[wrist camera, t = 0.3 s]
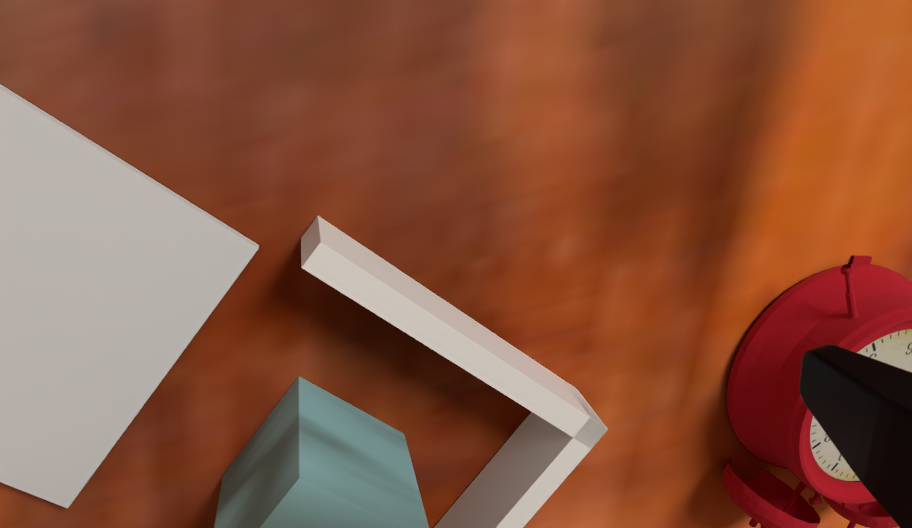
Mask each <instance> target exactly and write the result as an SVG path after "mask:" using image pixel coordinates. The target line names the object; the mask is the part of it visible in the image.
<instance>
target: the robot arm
mask: <svg viewBox="0 0 912 528" xmlns="http://www.w3.org/2000/svg"><path fill="white" fill-rule="evenodd" d="M799 390H800V395H801V398H802V400H803V402H804V403H805V405H806V406H807V407H808V409H809V410H810V412H811V413H812V415H813V416H814V417H815V419H816V420H817V422H818V423H819V424H820V426H821V427H822V429H823V430H824V431H825V433H826V434H827V436H828V437H829V438H830V440H831V441H832V443H833V444H834V445H835V447H836V448H837V450H838V451H839V452H840V454H841V455H842V457H843V458H844V459H845V461H846V462H847V464H848V465H849V466H850V468H851V469H852V471H853V472H854V473H855V475H856V476H857V477H858V479H859V480H860V481H861V482H862V484H863V485H864V486H865V487H866V489H867V490H868V491H869V492H870V493H871V495H872V496H873V497H874V498H875V499H876V500H877V502H878V503H879V504H880V505H881V506H882V507H883V508H884V510H885V511H886V512H887V513H888V514H889V515H890V516H891V518H892V519H893V520H894V521H895V522H896V523H897V524H898V526H899V527H900V528H912V372H909V371H906V370H904V369H901V368H898V367H895V366H892V365H890V364H887V363H884V362H881V361H878V360H876V359H873V358H870V357H867V356H864V355H862V354H859V353H856V352H853V351H851V350H848V349H845V348H842V347H839V346H836V345H832V344H826V345H822V346H819V347H816V348H813V349H810V350H808V351H806V352H805V353H804V355H803V357H802V365H801V374H800V383H799Z"/></svg>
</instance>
